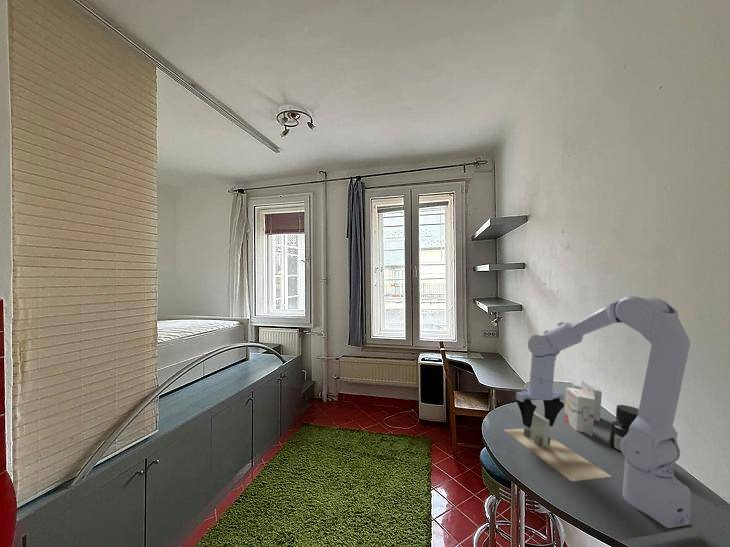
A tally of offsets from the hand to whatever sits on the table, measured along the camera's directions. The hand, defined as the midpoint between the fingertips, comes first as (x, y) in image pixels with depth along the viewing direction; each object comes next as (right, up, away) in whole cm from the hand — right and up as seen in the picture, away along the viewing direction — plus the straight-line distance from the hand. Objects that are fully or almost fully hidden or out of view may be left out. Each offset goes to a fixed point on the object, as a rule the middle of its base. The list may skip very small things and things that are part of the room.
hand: (537, 425), depth 84 cm
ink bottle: (+25, -8, -1) cm, 27 cm away
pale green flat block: (0, -4, 0) cm, 4 cm away
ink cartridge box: (+19, -7, +11) cm, 23 cm away
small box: (+30, -8, +22) cm, 38 cm away
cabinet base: (+1, -5, -5) cm, 7 cm away
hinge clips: (0, -4, 0) cm, 4 cm away
